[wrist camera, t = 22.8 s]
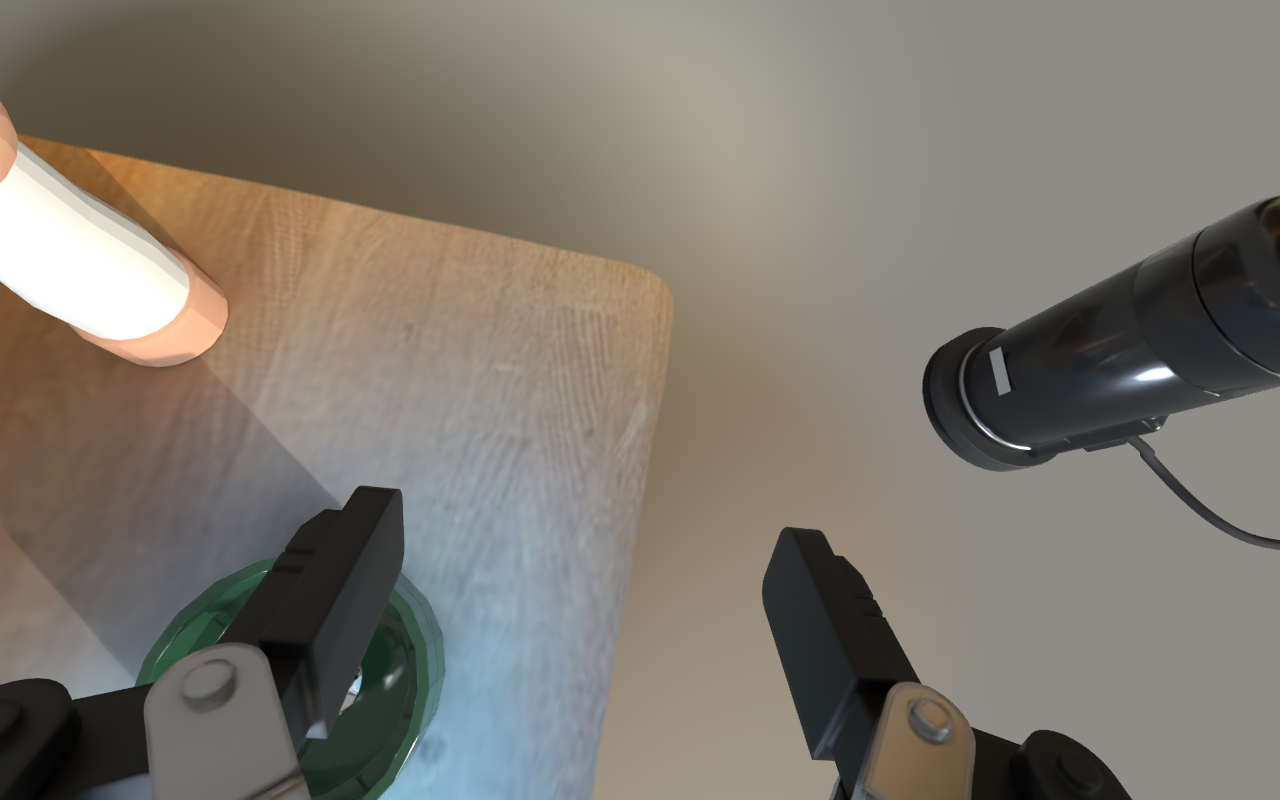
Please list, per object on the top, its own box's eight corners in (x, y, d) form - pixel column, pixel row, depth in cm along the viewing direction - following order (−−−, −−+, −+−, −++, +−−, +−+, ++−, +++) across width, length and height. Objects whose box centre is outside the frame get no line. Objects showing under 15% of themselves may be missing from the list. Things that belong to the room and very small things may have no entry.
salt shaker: (253, 305, 38) (-10, 68, 20) (169, 388, 36) (-216, 202, 18) (166, 249, 38) (-173, -37, 20) (76, 328, 36) (-400, 82, 18)
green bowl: (493, 667, 34) (484, 685, 29) (300, 873, 30) (249, 937, 24) (346, 511, 35) (312, 501, 30) (140, 687, 31) (59, 711, 26)
